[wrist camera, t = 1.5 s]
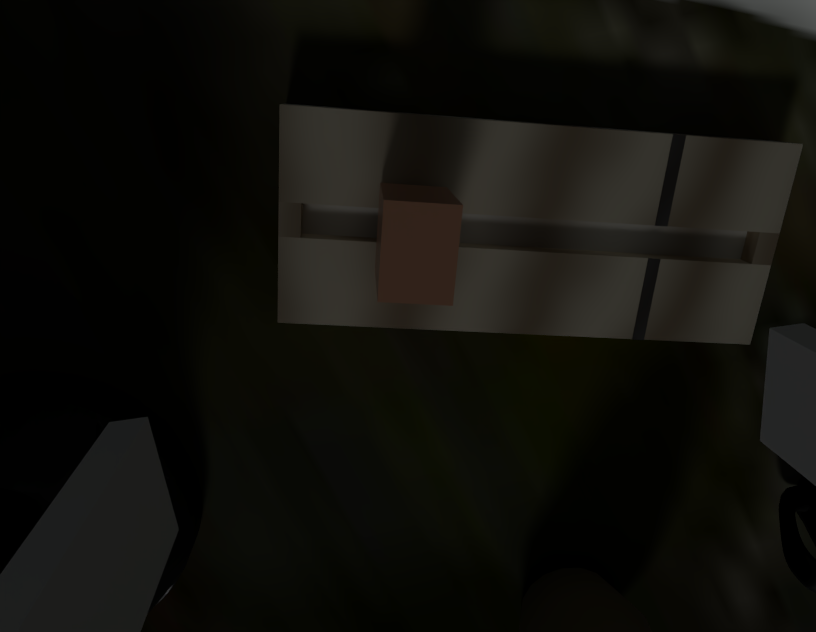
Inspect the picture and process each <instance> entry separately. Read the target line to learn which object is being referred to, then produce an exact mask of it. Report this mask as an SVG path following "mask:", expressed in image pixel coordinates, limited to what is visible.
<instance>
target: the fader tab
mask: <svg viewBox="0 0 816 632" xmlns="http://www.w3.org/2000/svg"><path fill="white" fill-rule="evenodd" d="M462 212H463V204H462V203H461V202H460V201H459V200H458V199H457V198H456V197H455V196H454V195H453V194H452V192H451V191H450V190H449V189H448V188H447V187H437V186H422V185H407V184H392V183H380V192H379V209H378V226H377V243H376V259H375V277H376V291H377V302H385V303H405V304H425V305H445V306H453V300H454V290H455V280H456V271H457V261H458V251H459V241H460V231H461V221H462Z"/></svg>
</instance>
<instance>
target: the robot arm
mask: <svg viewBox="0 0 816 632" xmlns="http://www.w3.org/2000/svg"><path fill="white" fill-rule="evenodd" d="M760 441H761V442H762V443H764V444H765V445H766V446H767V447H768V448H770V449H771V450H772V451H773V452H775V453H776V454H777V455H778V456H779V457H781V458H782V459H783V460H784V461H786V462H787V463H788V464H789V465H790V466H792V467H793V468H794V469H795V470H797V471H798V472H799V473H800V474H801V475H803V476H804V477H805V478H806V479H808V480H809V481H810V482H811V483H812V484H814V485H815V486H816V329H815V328H813V327H811V326H808V325H806V324H804V323H802V324H795V325H788V326H781V327H774V328H770V330H769V342H768V353H767V365H766V376H765V388H764V400H763V411H762V423H761V434H760ZM201 514H202V499H201V491H200V486H199V482H198V478H197V475H196V472H195V470H194V467H193V465H192V463H191V461H190V459H189V457H188V455H187V453H186V452H185V450H184V449H183V447H182V446H181V444H180V443H179V442H178V440H177V439H176V438H175V436H174V435H173V434H172V433H171V432H170V431H169V430H168V429H167V428H166V427H165V426H164V425H163V424H162V423H161V422H160V421H159V420H158V419H157V418H156V417H154V416H153V415H152V414H151V413H149V412H148V411H147V410H145V409H144V408H142V407H141V406H139V405H138V404H136V403H135V402H133V401H131V400H129V399H127V398H126V397H124V396H121V395H119V394H117V393H115V392H113V391H110V390H108V389H105V388H102V387H99V386H96V385H93V384H90V383H86V382H82V381H77V380H71V379H64V378H53V377H33V378H22V379H15V380H10V381H5V382H1V383H0V632H141V629H142V626H143V624H144V621H145V618H146V616H147V614H148V613H149V612H150V611H151V609H152V608H153V607H154V606H155V605H156V604H157V603H159V602H160V601H161V600H162V599H163V598H164V597H165V596H166V595H167V593H168V592H169V591H170V590H171V589H172V587H173V586H174V585H175V583H176V582H177V580H178V578H179V577H180V575H181V573H182V572H183V570H184V568H185V566H186V564H187V561H188V558H189V556H190V553H191V551H192V548H193V545H194V543H195V540H196V537H197V534H198V531H199V527H200V522H201Z"/></svg>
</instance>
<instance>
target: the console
mask: <svg viewBox="0 0 816 632" xmlns="http://www.w3.org/2000/svg"><path fill="white" fill-rule="evenodd" d="M802 146H803V144H796V143H787V142H778V141H768V140H755V139H742V138H729V137H716V136H703V135H689V134H676V133H663V132H650V131H637V130H624V129H611V128H598V127H585V126H572V125H559V124H546V123H533V122H520V121H507V120H494V119H481V118H468V117H455V116H442V115H429V114H416V113H403V112H390V111H376V110H363V109H350V108H337V107H324V106H311V105H298V104H280V127H279V237H278V323H299V324H320V325H342V326H363V327H385V328H406V329H428V330H449V331H471V332H492V333H514V334H535V335H557V336H578V337H600V338H621V339H634V340H664V341H686V342H707V343H729V344H750V343H751V339H752V335H753V331H754V328H755V324H756V320H757V316H758V313H759V309H760V305H761V301H762V297H763V294H764V290H765V286H766V282H767V279H768V275H769V271H770V267H771V263H772V260H773V256H774V252H775V248H776V245H777V241H778V237H779V233H780V229H781V226H782V222H783V218H784V214H785V211H786V207H787V203H788V199H789V195H790V192H791V188H792V184H793V180H794V177H795V173H796V169H797V165H798V161H799V158H800V154H801V150H802ZM380 183H392V184H407V185H422V186H437V187H447V188H448V189H449V190H450V191H451V192H452V194H453V195H454V196H455V197H456V198H457V199H458V200H459V201H460V202H461V203H462V204H463V212H462V221H461V231H460V241H459V251H458V261H457V271H456V280H455V290H454V300H453V306H445V305H425V304H405V303H385V302H377V291H376V277H375V259H376V243H377V226H378V209H379V192H380Z"/></svg>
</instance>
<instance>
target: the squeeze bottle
mask: <svg viewBox="0 0 816 632" xmlns="http://www.w3.org/2000/svg"><path fill="white" fill-rule="evenodd" d="M519 632H652V631H651V629H650V627H649V624H648V622H647V619H646V617H645V616H644V615H643V614H642V613H641V612H640V611H639V610H638V609H637V608H635V607H634V606H633V605H632V604H631V603H630V602H629V601H628V600H627V599H626V598H624V597H623V596H622V595H621V594H620V593H619V592H618V591H616V590H615V589H614V588H613V587H612V586H611V585H610V584H608V583H607V582H606V581H605V580H604V579H603V578H602V577H600V576H599V575H598V574H597V573H595V572H592V571H589V570H586V569H583V568H561V569H558V570H555V571H553V572H550V573H547V574H545V575H543V576H542V577H541V578H539V579H538V580H537V581H535V582H534V583H533V584H532V585H531V586H530V587H529V589H528V591H527V592H526V594H525V596H524V597H523V599H522V608H521V617H520V627H519Z"/></svg>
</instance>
